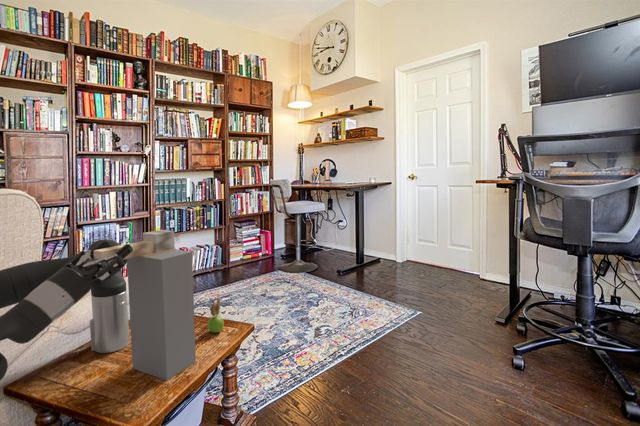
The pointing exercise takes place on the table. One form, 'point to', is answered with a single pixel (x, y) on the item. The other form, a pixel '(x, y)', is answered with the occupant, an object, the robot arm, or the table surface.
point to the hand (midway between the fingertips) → (118, 245)
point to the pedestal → (162, 312)
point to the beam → (143, 245)
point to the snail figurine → (215, 318)
